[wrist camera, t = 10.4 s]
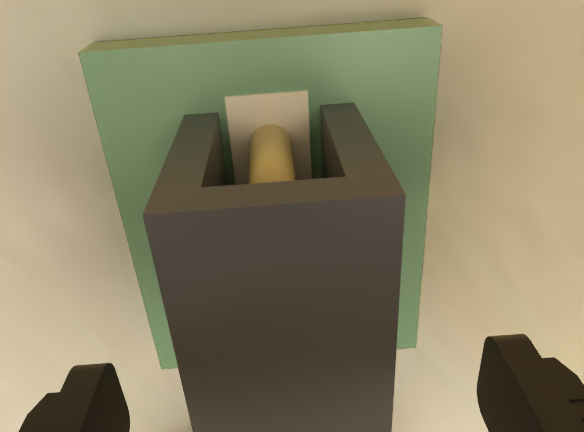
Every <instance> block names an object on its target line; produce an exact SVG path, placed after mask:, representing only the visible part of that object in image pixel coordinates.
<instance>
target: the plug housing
mask: <svg viewBox="0 0 584 432" xmlns="http://www.w3.org/2000/svg"><path fill="white" fill-rule="evenodd" d="M321 139H322V173H323V178H320V179H307V180H293V181H280V182H267V183H254V184H240V185H228V181H227V173H226V166H225V158H224V150H223V143H222V135H221V128H220V120H219V113H218V112H216V113H202V114H189V115H184V117H183V119H182V121H181V124H180V126H179V129H178V131H177V133H176V136H175V138H174V141H173V143H172V145H171V148H170V150H169V153H168V155H167V157H166V160H165V162H164V164H163V167H162V169H161V172H160V174H159V176H158V179H157V181H156V184H155V186H154V188H153V191H152V193H151V196H150V198H149V200H148V203H147V205H146V208H145V210H144V212H143V219H144V224H145V228H146V232H147V236H148V241H149V245H150V249H151V253H152V258H153V262H154V266H155V271H156V275H157V279H158V283H159V288H160V292H161V296H162V301H163V305H164V309H165V313H166V318H167V322H168V326H169V331H170V335H171V339H172V343H173V348H174V352H175V356H176V361H177V365H178V369H179V373H180V378H181V382H182V386H183V391H184V395H185V399H186V403H187V408H188V412H189V416H190V421H191V425H192V429H193V432H391V428H392V412H393V396H394V379H395V363H396V347H397V331H398V314H399V298H400V282H401V266H402V249H403V233H404V217H405V201H406V194H405V192H404V190H403V189H402V187H401V185H400V183H399V182H398V180H397V178H396V176H395V174H394V173H393V171H392V169H391V167H390V165H389V164H388V162H387V160H386V158H385V156H384V155H383V153H382V151H381V149H380V148H379V146H378V144H377V142H376V140H375V139H374V137H373V135H372V133H371V131H370V130H369V128H368V126H367V124H366V122H365V121H364V119H363V117H362V115H361V114H360V112H359V110H358V108H357V106H356V105H355V103H341V104H327V105H321Z"/></svg>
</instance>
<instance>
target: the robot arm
mask: <svg viewBox="0 0 584 432" xmlns="http://www.w3.org/2000/svg"><path fill="white" fill-rule="evenodd" d="M477 398H478V404H479V408H480V412H481V414H482V417H483V419H484V422H485V424H486V426H487V428H488V431H489V432H584V385H583V383H582V382H581V380H580V379H579V377H578V376H577V375H576V374H575V373H573V372H572V371H571V370H570V369H568V368H567V367H566V366H565V365H563V364H562V363H561V362H560V361H558V360H557V359H556V358H554V357H553V358H541V356H540V355H539V353H538V351H537V350H536V348H535V347H534V345H533V344H532V342H531V340H530V339H529V338H528V337H527V336H526V335H524V334H516V335H502V336H489V337H487V338H486V340H485V342H484V348H483V353H482V359H481V365H480V371H479V376H478V382H477ZM129 430H130V417H129V410H128V407H127V404H126V401H125V398H124V395H123V392H122V389H121V386H120V383H119V380H118V376H117V373H116V370H115V368H114V366H113V365H112V364H111V363H103V364H90V365H76V366H74V367H72V369H71V370H70V372H69V373H68V376H67V378H66V380H65V382H64V385H63V387H62V389H61V391H60V392H58V393H47V394H46V395H45V396H44V398H43V399H42V400H41V401H40V402H39V403H38V404H37V405H36V406H35V407H34V408H33V409H32V410H31V411H30V412H29V413H28V414H27V416H26V418H25V420H24V422H23V424H22V426H21V428H20V430H19V432H129Z"/></svg>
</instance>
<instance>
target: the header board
mask: <svg viewBox="0 0 584 432" xmlns="http://www.w3.org/2000/svg"><path fill="white" fill-rule="evenodd" d="M441 35H442V25H440V24H438V23H436V22H434V21H432V20H430V19H428V18H416V19H403V20H389V21H375V22H362V23H348V24H335V25H321V26H307V27H294V28H280V29H267V30H253V31H240V32H226V33H212V34H199V35H185V36H172V37H158V38H144V39H131V40H117V41H104V42H94V43H92V44H91V45H89V46H87V47H86V48H84V49H83V50H81V51H80V52H78V54H79V58H80V61H81V65H82V69H83V73H84V77H85V80H86V84H87V88H88V92H89V96H90V99H91V103H92V107H93V111H94V115H95V119H96V122H97V126H98V130H99V134H100V138H101V141H102V145H103V149H104V153H105V157H106V160H107V164H108V168H109V172H110V176H111V179H112V183H113V187H114V191H115V195H116V198H117V202H118V206H119V210H120V214H121V218H122V221H123V225H124V229H125V233H126V237H127V240H128V244H129V248H130V252H131V256H132V259H133V263H134V267H135V271H136V275H137V278H138V282H139V286H140V290H141V294H142V297H143V301H144V305H145V309H146V313H147V316H148V320H149V324H150V328H151V332H152V336H153V339H154V343H155V347H156V351H157V355H158V358H159V362H160V366H161V369H171V368H178V365H177V361H176V356H175V352H174V348H173V343H172V339H171V335H170V331H169V326H168V322H167V318H166V313H165V309H164V305H163V301H162V296H161V292H160V288H159V283H158V279H157V275H156V271H155V266H154V262H153V258H152V253H151V249H150V245H149V241H148V236H147V232H146V228H145V224H144V219H143V212H144V210H145V208H146V205H147V203H148V200H149V198H150V196H151V193H152V191H153V188H154V186H155V184H156V181H157V179H158V176H159V174H160V172H161V169H162V167H163V164H164V162H165V160H166V157H167V155H168V153H169V150H170V148H171V145H172V143H173V141H174V138H175V136H176V133H177V131H178V129H179V126H180V124H181V121H182V119H183V117H184V115H189V114H202V113H216V112H218V113H219V120H220V128H221V135H222V143H223V150H224V158H225V166H226V173H227V181H228V185H240V184H254V183H267V182H280V181H293V180H307V179H320V178H323V173H322V139H321V105H327V104H341V103H355V105H356V106H357V108H358V110H359V112H360V114H361V115H362V117H363V119H364V121H365V122H366V124H367V126H368V128H369V130H370V131H371V133H372V135H373V137H374V139H375V140H376V142H377V144H378V146H379V148H380V149H381V151H382V153H383V155H384V156H385V158H386V160H387V162H388V164H389V165H390V167H391V169H392V171H393V173H394V174H395V176H396V178H397V180H398V182H399V183H400V185H401V187H402V189H403V190H404V192H405V194H406V201H405V217H404V233H403V249H402V266H401V282H400V298H399V314H398V331H397V347H396V349H404V348H415V347H416V341H417V328H418V316H419V304H420V292H421V280H422V267H423V255H424V243H425V231H426V218H427V206H428V194H429V182H430V170H431V157H432V145H433V133H434V121H435V108H436V96H437V84H438V72H439V60H440V47H441Z"/></svg>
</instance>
